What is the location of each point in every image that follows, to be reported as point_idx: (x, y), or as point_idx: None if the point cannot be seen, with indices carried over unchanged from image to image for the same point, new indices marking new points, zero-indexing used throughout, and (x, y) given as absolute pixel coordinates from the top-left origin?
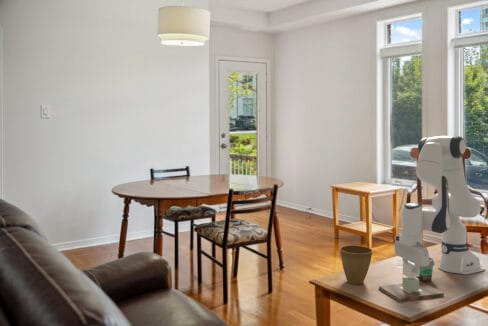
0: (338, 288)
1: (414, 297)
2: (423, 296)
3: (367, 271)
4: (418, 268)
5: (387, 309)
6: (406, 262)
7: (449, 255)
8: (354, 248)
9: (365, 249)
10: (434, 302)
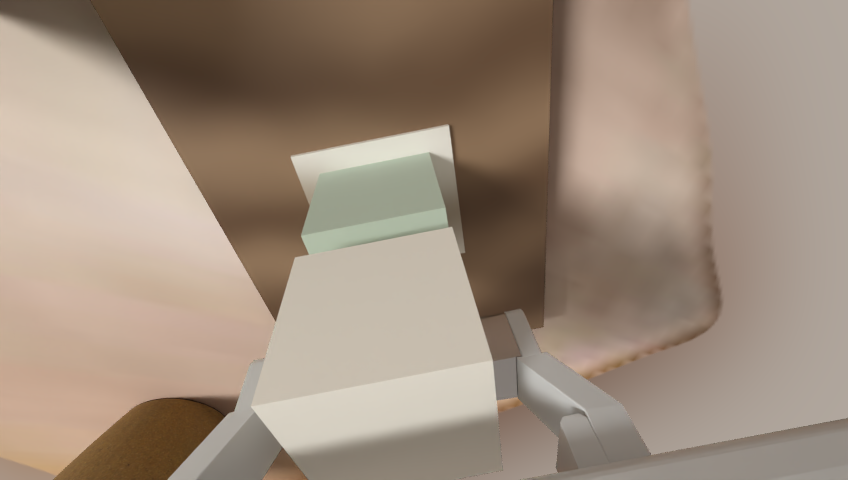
0: (300, 477)
1: (543, 235)
2: (545, 160)
3: (166, 475)
4: (561, 372)
5: (595, 375)
6: (244, 458)
7: None
8: None
9: None
10: (631, 93)
